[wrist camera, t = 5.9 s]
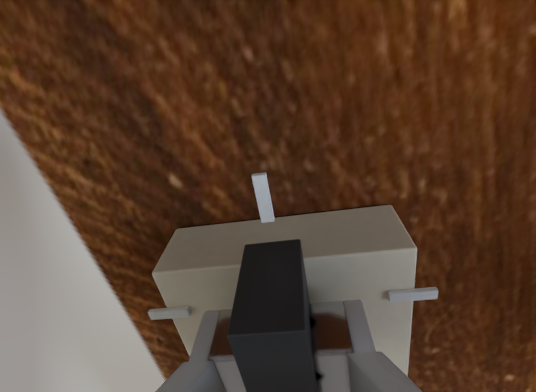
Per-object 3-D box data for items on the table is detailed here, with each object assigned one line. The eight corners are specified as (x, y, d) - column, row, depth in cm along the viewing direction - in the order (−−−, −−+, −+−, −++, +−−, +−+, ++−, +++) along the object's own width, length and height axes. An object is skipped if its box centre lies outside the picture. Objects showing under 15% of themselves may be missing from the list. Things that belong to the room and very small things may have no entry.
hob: (133, 160, 10) (89, 197, 8) (414, 119, 9) (456, 149, 7) (251, 452, 20) (246, 508, 18) (395, 451, 19) (410, 510, 17)
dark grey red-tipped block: (244, 244, 9) (223, 347, 6) (300, 238, 8) (306, 342, 6) (272, 354, 11) (268, 467, 8) (317, 351, 11) (328, 466, 8)
